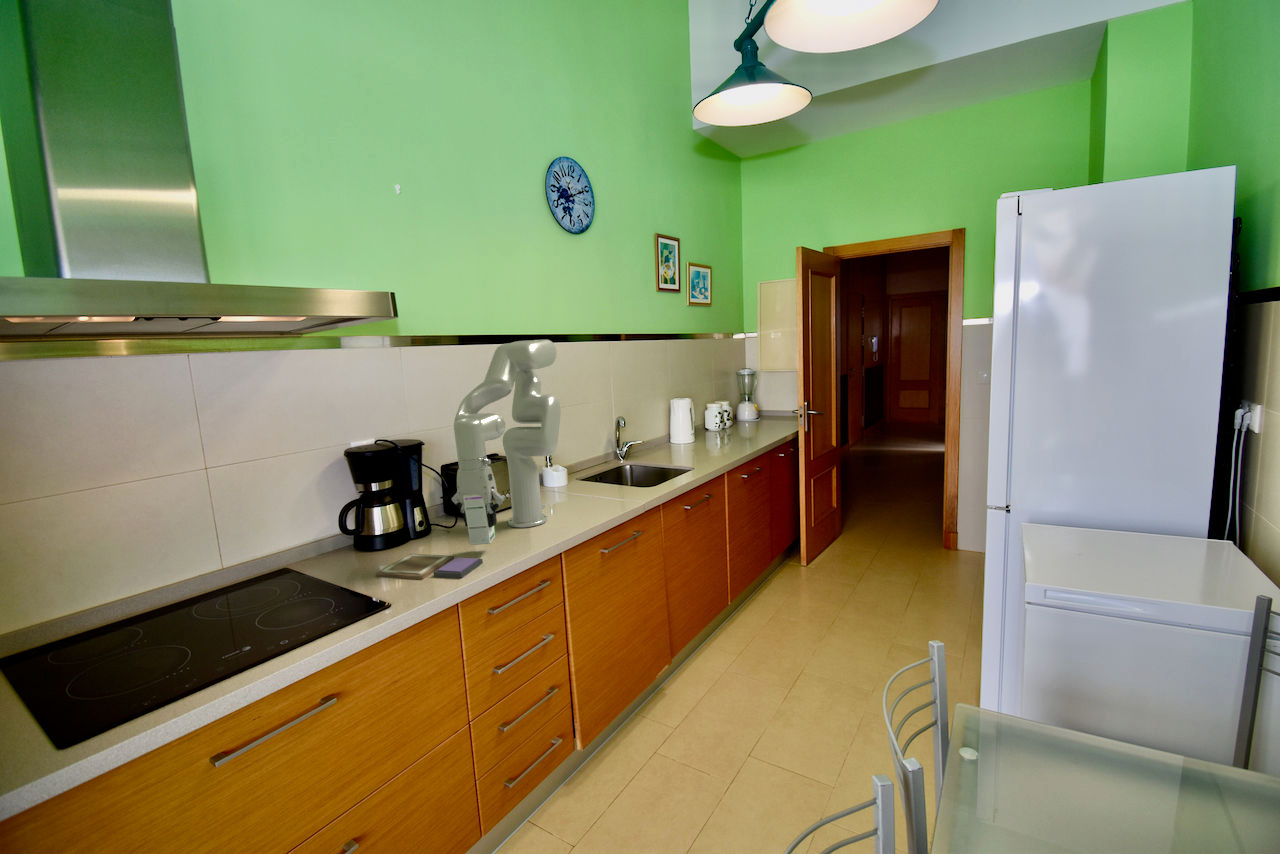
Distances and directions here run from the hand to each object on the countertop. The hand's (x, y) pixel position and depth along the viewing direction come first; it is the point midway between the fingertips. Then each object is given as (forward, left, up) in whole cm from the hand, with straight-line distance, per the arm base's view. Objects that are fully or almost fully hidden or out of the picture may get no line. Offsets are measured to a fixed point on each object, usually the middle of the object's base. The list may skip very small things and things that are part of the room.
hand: (480, 524), depth 156 cm
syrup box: (0, 0, -5) cm, 5 cm away
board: (+12, -13, -8) cm, 20 cm away
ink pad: (+12, 0, -8) cm, 15 cm away
